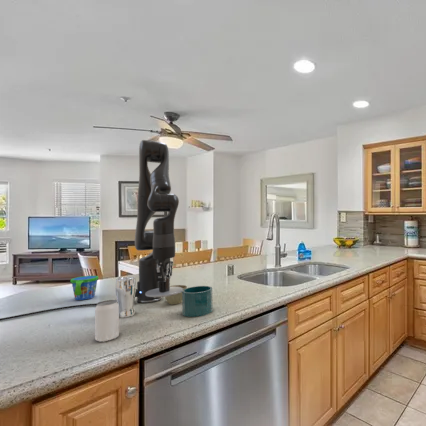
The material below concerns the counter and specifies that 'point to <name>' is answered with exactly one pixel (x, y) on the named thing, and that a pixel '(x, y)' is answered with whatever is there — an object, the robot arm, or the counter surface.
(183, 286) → the flower pot
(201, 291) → the canister
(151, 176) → the robot arm
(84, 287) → the blue green tapered container
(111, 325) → the can
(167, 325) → the counter surface
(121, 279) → the beer glass
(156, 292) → the lid
